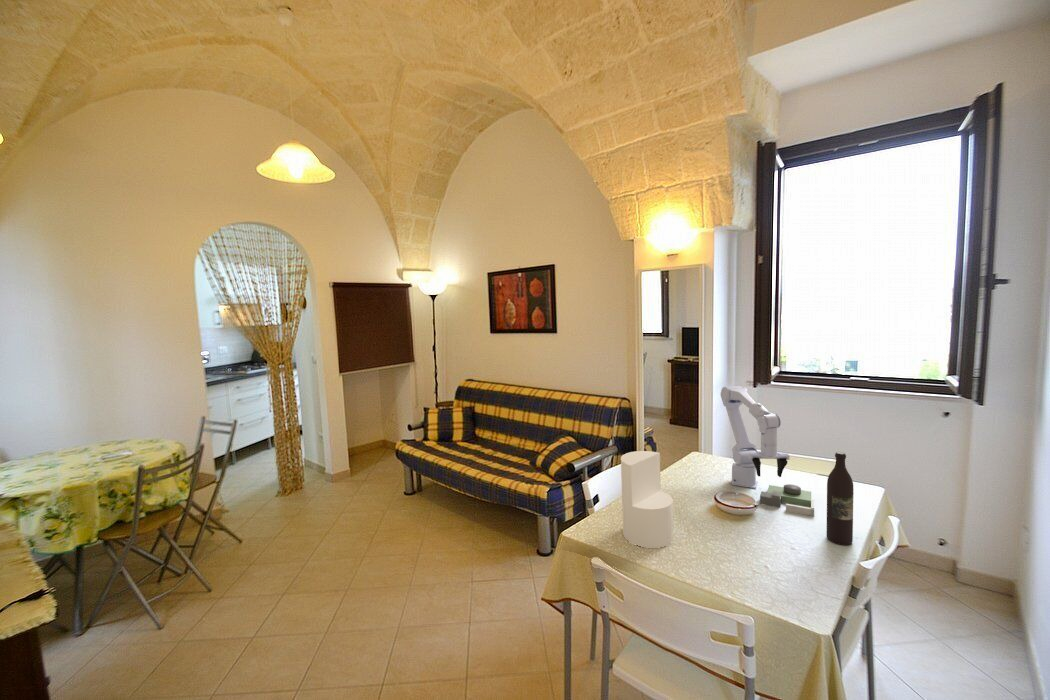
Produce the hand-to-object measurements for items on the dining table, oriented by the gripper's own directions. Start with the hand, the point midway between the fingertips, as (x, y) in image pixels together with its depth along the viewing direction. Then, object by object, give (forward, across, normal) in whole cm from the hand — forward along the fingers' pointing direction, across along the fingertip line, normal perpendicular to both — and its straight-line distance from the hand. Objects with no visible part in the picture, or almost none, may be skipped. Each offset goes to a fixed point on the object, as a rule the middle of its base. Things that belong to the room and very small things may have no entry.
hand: (768, 475), depth 175 cm
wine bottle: (+10, +12, -31) cm, 35 cm away
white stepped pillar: (+10, -50, -36) cm, 62 cm away
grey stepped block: (+10, -1, -4) cm, 11 cm away
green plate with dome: (+10, +7, -3) cm, 12 cm away
